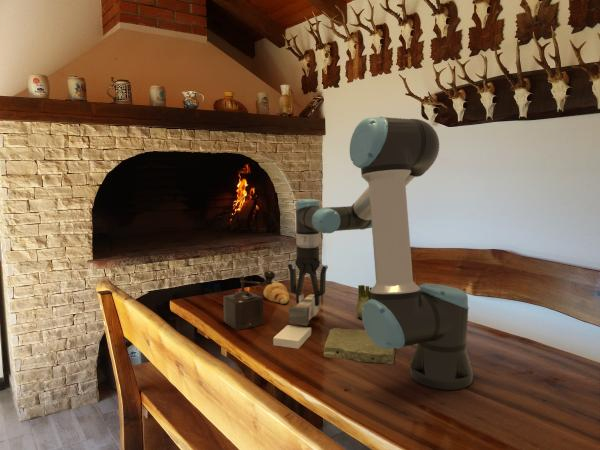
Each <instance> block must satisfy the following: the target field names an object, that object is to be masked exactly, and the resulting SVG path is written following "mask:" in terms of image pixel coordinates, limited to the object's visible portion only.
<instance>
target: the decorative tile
mask: <svg viewBox="0 0 600 450" xmlns="http://www.w3.org/2000/svg"><path fill="white" fill-rule="evenodd" d="M395 349H396V348H392V349H382V348H380V347H378V346H377V345H376V344H374V343H373V342H372V340H371V339H370V337H369V336H368V334H367V332H366V330H365V329H356V328H355V329H353V328H351V329H348V328H347V329H346V328H339V327H333V328H331V329H329V332H328V335H327V337H326V341H325V344H324V348H323V357H324V358H327V359H330V358H332V359H333V358H334V359H336V358H338V359H345V360H352V361H356V362H361V363H362V362H365V363H376V364H378V363H379V364H387V365H388V364H389V365H394V364H395V355H396V354H395Z"/></svg>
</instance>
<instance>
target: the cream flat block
mask: <svg viewBox="0 0 600 450" xmlns="http://www.w3.org/2000/svg"><path fill="white" fill-rule="evenodd" d="M311 335H312V327H308V326H301V325H293V324H287V325H286V326H285V327H284V328H283V329H281V330H280V331H279V332H278V333H277V334H276V335H275V336H274V337H273V339H272V343H273V344H272V345H273V346H276V347H284V348H290V349H291V348H293V349H300V347H302V345H303V344H304V343H305V342H306V341H307V340H308V339H309V338H310V337H311Z"/></svg>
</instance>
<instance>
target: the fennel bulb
mask: <svg viewBox="0 0 600 450" xmlns="http://www.w3.org/2000/svg"><path fill="white" fill-rule="evenodd" d="M357 287H358V298H357V305H356V313H357V314H356V315H357V317H358V318H359V319H362V309H363V308H364V307H363V306H364V304H365V303H366V302H367V301H368V300H370V299H371V294H370V290H371V289H372V288H373V287H374V286H369V285H365V284H358V285H357Z"/></svg>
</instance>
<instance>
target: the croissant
mask: <svg viewBox="0 0 600 450" xmlns="http://www.w3.org/2000/svg"><path fill="white" fill-rule="evenodd" d="M262 293H263V297H264V298H265V299H266V300H268V301H270V302H274V303H278V304H281V305H284V304H287V303H288V302H289V300H290V293H289V291H288V289H287V287H286V285H285V284H284V283H282V282H278V281H273V282H272V284H269V285H264V289H263V292H262Z"/></svg>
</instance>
